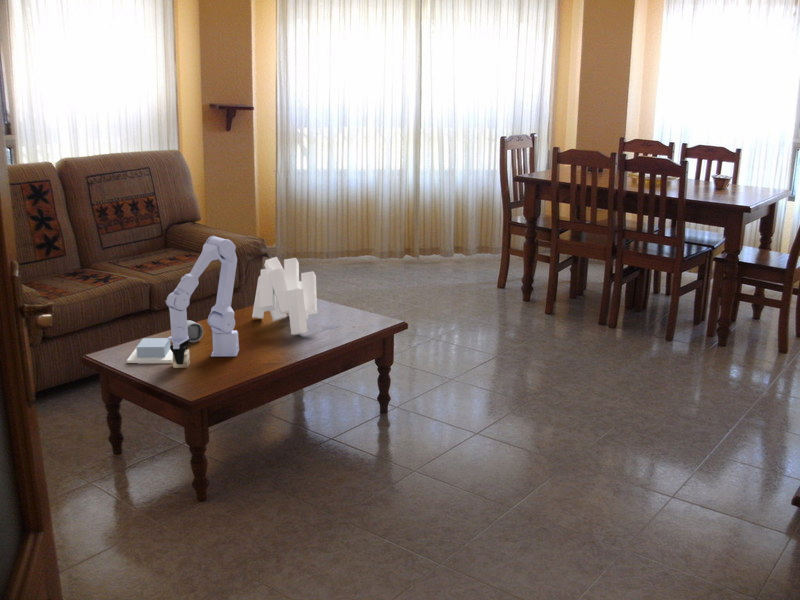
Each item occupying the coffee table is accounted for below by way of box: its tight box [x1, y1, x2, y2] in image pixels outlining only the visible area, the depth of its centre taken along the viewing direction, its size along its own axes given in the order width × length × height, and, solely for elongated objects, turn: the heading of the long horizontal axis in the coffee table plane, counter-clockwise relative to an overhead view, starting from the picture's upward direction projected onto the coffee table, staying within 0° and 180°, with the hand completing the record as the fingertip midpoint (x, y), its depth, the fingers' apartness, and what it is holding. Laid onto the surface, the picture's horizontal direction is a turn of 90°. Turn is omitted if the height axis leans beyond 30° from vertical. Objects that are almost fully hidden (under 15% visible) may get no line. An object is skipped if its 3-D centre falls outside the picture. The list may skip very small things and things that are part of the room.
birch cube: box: [172, 349, 191, 369], centre depth 299 cm, size 5×5×5 cm
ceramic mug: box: [187, 319, 204, 343], centre depth 325 cm, size 11×8×8 cm
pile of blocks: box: [251, 256, 318, 335], centre depth 346 cm, size 35×30×35 cm
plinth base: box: [126, 337, 173, 364], centre depth 308 cm, size 16×16×5 cm
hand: (181, 361), depth 300 cm, fingers closed on birch cube, 5 cm apart
